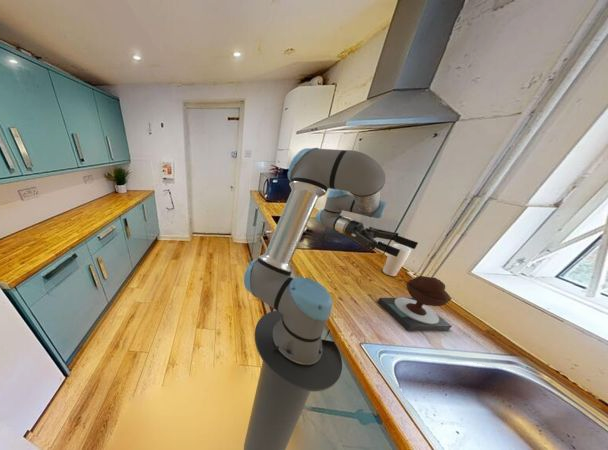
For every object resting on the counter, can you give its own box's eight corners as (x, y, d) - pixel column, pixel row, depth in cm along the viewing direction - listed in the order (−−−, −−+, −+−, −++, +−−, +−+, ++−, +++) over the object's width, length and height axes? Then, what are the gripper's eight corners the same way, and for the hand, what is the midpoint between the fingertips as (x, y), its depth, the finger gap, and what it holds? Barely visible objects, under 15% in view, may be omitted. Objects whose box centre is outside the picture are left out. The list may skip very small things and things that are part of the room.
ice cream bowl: (446, 324, 68) (471, 290, 62) (409, 318, 70) (430, 285, 63) (421, 301, 77) (441, 270, 71) (389, 296, 79) (406, 266, 73)
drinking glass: (385, 268, 102) (397, 242, 96) (401, 276, 96) (415, 249, 90) (377, 270, 100) (389, 245, 94) (392, 279, 94) (406, 252, 88)
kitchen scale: (407, 330, 69) (411, 324, 67) (377, 302, 80) (380, 296, 79) (448, 330, 69) (453, 324, 68) (412, 302, 81) (415, 296, 80)
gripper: (362, 230, 97) (418, 251, 80) (329, 239, 87) (385, 265, 69) (367, 215, 94) (427, 234, 76) (334, 223, 84) (394, 247, 66)
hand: (407, 249), depth 73 cm, fingers open, 13 cm apart
